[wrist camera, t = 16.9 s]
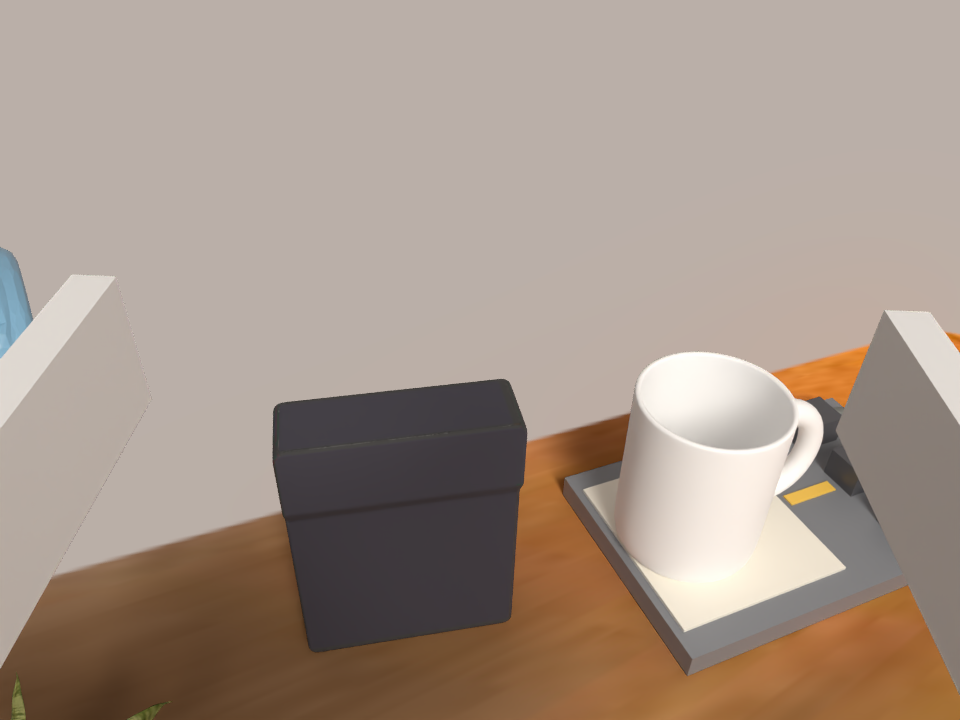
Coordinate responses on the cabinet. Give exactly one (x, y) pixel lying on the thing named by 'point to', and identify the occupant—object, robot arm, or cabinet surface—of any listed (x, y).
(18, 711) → the house plant
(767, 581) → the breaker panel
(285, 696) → the cabinet surface
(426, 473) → the dark grey box
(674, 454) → the mug
